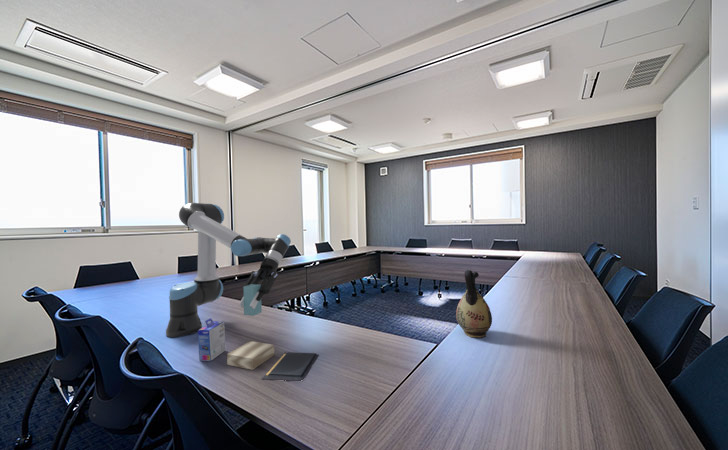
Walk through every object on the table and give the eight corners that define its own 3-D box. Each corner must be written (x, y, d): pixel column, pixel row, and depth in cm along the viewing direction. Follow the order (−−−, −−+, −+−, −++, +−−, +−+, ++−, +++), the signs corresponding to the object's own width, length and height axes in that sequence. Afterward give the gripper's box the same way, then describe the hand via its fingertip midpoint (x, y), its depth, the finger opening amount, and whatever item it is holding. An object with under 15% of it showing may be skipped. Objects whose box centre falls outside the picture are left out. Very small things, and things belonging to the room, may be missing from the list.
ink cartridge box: (213, 349, 118) (213, 315, 118) (226, 350, 117) (225, 315, 117) (197, 361, 108) (196, 323, 108) (211, 361, 107) (210, 324, 107)
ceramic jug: (461, 325, 139) (460, 265, 139) (495, 332, 130) (494, 268, 130) (450, 337, 126) (449, 270, 125) (487, 345, 117) (485, 273, 116)
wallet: (302, 378, 92) (259, 375, 94) (302, 384, 92) (259, 381, 94) (320, 351, 112) (285, 349, 114) (320, 355, 112) (285, 353, 114)
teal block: (243, 314, 119) (243, 286, 118) (252, 311, 123) (251, 284, 123) (253, 315, 117) (252, 287, 117) (261, 312, 122) (261, 284, 121)
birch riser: (227, 364, 105) (227, 354, 105) (250, 350, 116) (250, 341, 116) (252, 369, 101) (252, 358, 101) (274, 354, 112) (274, 345, 112)
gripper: (291, 267, 131) (268, 313, 116) (260, 266, 138) (234, 309, 122) (283, 257, 126) (259, 303, 111) (252, 256, 133) (224, 300, 117)
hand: (246, 306), depth 117 cm, fingers closed on teal block, 5 cm apart
